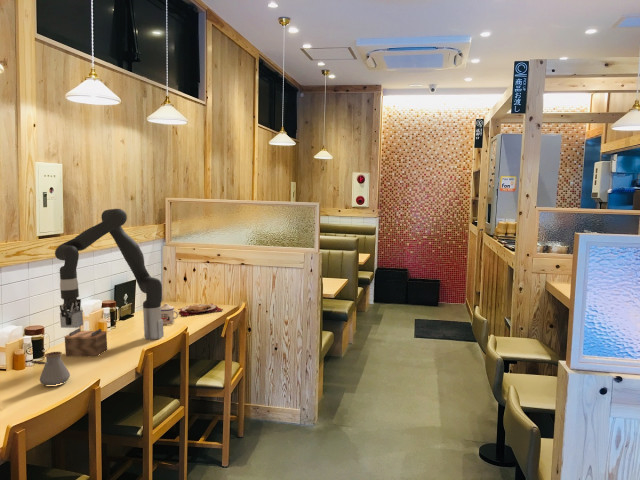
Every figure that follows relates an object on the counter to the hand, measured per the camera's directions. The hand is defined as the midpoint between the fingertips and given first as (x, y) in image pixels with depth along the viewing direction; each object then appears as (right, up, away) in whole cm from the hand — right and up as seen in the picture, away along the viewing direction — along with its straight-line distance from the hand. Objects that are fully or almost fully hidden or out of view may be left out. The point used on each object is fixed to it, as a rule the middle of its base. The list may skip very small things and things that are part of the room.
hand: (72, 323), depth 239 cm
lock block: (0, -1, 0) cm, 1 cm away
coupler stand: (0, -17, +15) cm, 23 cm away
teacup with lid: (+25, -11, +71) cm, 76 cm away
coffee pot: (+5, -22, -29) cm, 37 cm away
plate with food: (+35, -9, +101) cm, 107 cm away
